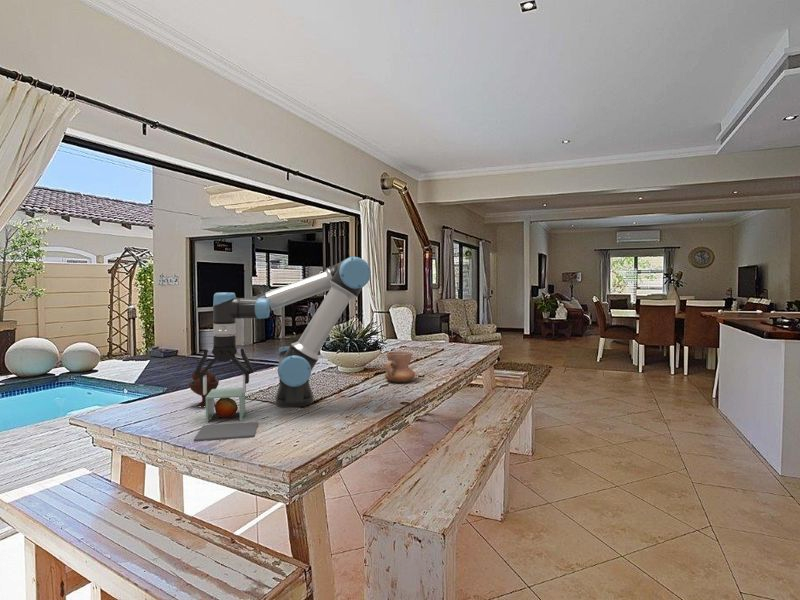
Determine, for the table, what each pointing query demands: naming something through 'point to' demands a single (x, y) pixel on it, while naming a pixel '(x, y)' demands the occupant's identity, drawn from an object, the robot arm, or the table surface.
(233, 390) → the cover
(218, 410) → the fruit
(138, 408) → the table surface
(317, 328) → the robot arm
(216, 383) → the ice cream bowl
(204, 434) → the mat
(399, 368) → the ceramic jug
